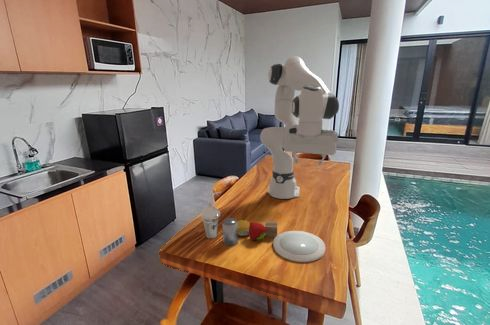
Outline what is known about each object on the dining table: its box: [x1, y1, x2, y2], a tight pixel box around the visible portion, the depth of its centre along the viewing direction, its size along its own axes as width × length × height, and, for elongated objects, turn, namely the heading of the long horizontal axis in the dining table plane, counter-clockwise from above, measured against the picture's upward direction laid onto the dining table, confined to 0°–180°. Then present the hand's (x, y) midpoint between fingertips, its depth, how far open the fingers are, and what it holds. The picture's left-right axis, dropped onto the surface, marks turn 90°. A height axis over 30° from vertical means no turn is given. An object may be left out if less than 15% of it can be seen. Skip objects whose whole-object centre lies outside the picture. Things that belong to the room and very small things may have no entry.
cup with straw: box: [199, 190, 223, 239], centre depth 109 cm, size 8×9×20 cm
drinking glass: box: [221, 217, 239, 247], centre depth 105 cm, size 6×6×9 cm
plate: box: [272, 230, 326, 263], centre depth 103 cm, size 20×20×1 cm
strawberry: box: [248, 221, 267, 242], centre depth 108 cm, size 6×8×10 cm
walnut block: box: [264, 220, 278, 239], centre depth 111 cm, size 5×5×5 cm
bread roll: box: [237, 220, 250, 237], centre depth 114 cm, size 8×9×4 cm
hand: (308, 163), depth 105 cm, fingers open, 8 cm apart
